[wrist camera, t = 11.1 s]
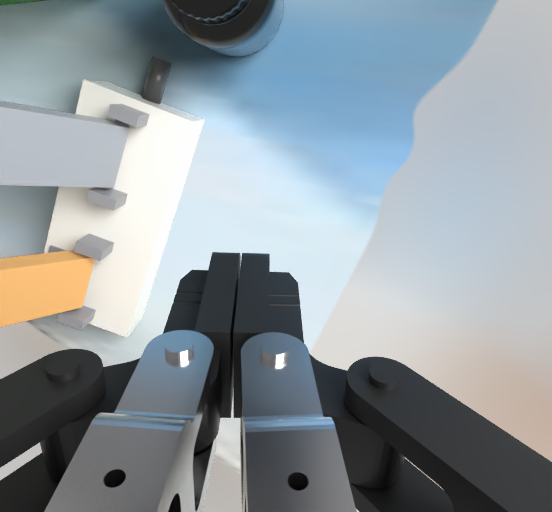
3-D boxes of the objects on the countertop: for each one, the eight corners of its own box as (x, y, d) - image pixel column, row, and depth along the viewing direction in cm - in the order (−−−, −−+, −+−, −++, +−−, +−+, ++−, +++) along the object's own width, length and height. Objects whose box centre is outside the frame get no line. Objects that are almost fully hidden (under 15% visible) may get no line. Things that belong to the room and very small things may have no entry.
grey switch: (121, 119, 34) (-34, 90, 25) (134, 126, 34) (-19, 99, 25) (105, 182, 36) (-48, 177, 27) (117, 190, 35) (-34, 187, 26)
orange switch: (88, 245, 37) (-60, 262, 28) (100, 254, 37) (-47, 273, 28) (74, 299, 39) (-71, 331, 30) (85, 308, 38) (-58, 343, 29)
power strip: (115, 41, 36) (78, 30, 30) (216, 81, 37) (198, 77, 31) (57, 285, 43) (16, 314, 37) (143, 316, 43) (116, 350, 37)
